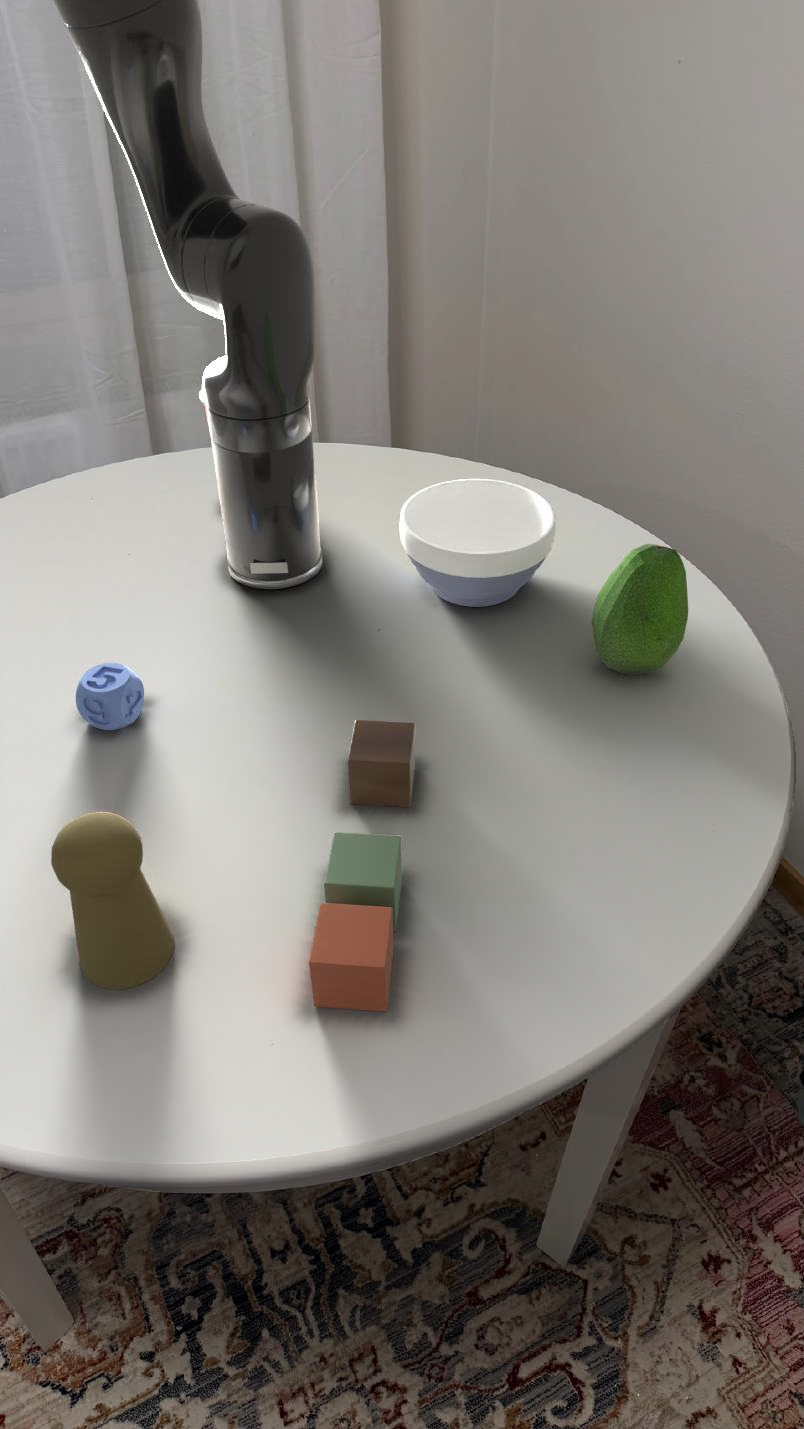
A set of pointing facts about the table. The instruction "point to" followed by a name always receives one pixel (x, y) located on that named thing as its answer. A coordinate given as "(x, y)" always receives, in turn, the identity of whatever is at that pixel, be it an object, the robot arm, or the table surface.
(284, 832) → the table surface
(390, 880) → the sage block
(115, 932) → the tan ball-topped figurine
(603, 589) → the avocado
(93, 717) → the decorative dice
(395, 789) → the walnut block
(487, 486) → the bowl
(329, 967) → the terracotta block
